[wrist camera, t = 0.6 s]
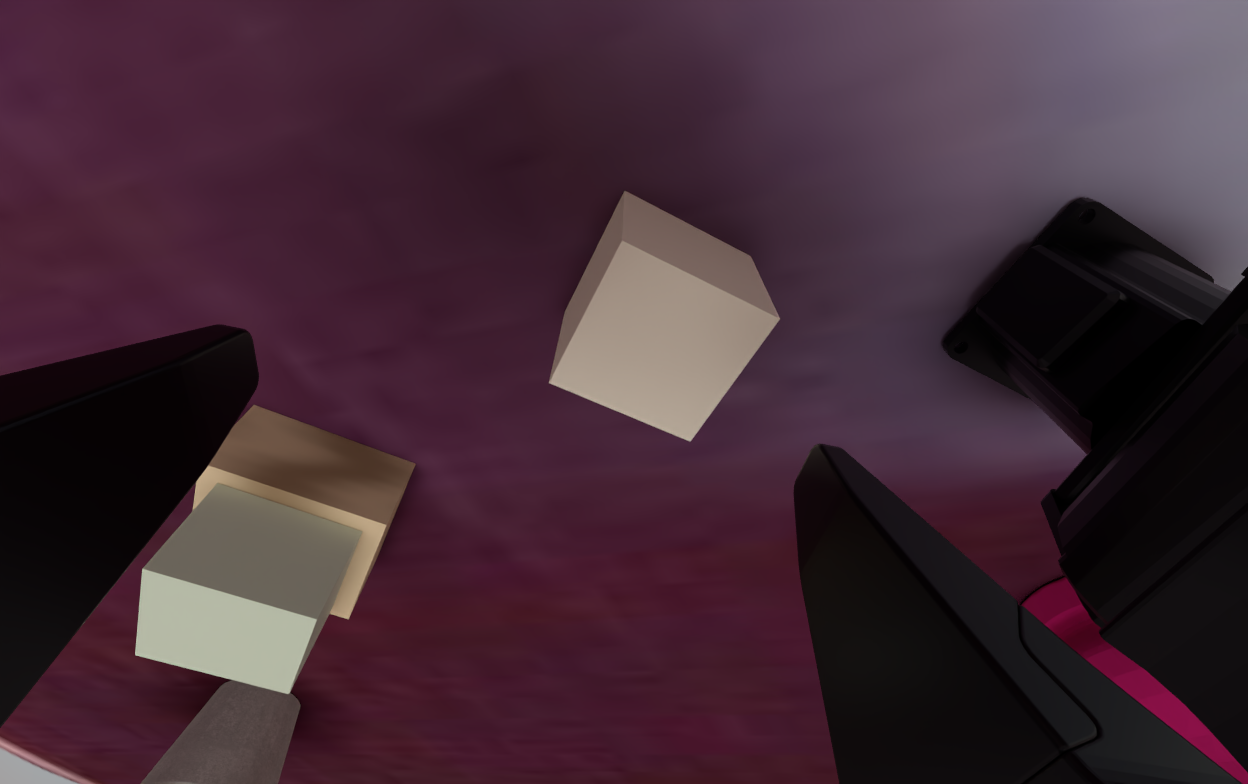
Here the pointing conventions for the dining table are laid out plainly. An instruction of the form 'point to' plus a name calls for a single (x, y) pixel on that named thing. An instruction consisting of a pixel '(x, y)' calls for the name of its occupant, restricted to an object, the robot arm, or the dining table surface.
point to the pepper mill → (1123, 669)
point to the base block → (314, 482)
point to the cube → (661, 320)
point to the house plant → (232, 739)
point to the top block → (243, 589)
